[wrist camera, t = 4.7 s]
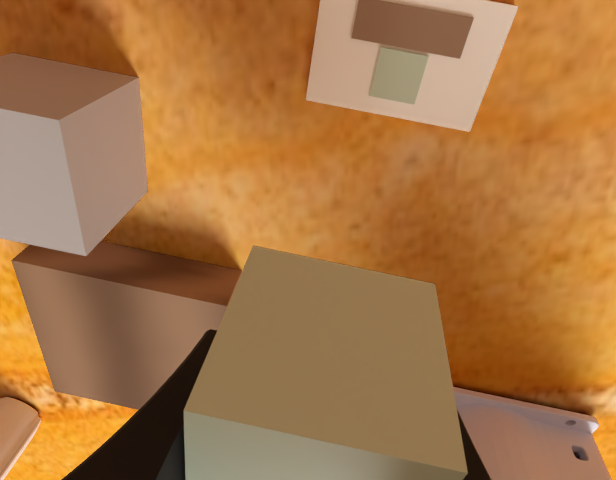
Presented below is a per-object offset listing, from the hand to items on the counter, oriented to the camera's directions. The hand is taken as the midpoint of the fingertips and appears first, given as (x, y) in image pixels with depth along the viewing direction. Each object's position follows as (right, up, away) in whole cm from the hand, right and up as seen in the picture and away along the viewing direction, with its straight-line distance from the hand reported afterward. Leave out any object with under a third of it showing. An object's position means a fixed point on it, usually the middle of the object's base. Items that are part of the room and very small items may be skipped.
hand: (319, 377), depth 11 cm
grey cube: (-10, +8, +6) cm, 14 cm away
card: (+3, +10, +3) cm, 11 cm away
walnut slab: (-9, -1, +13) cm, 16 cm away
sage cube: (0, +1, +1) cm, 2 cm away
